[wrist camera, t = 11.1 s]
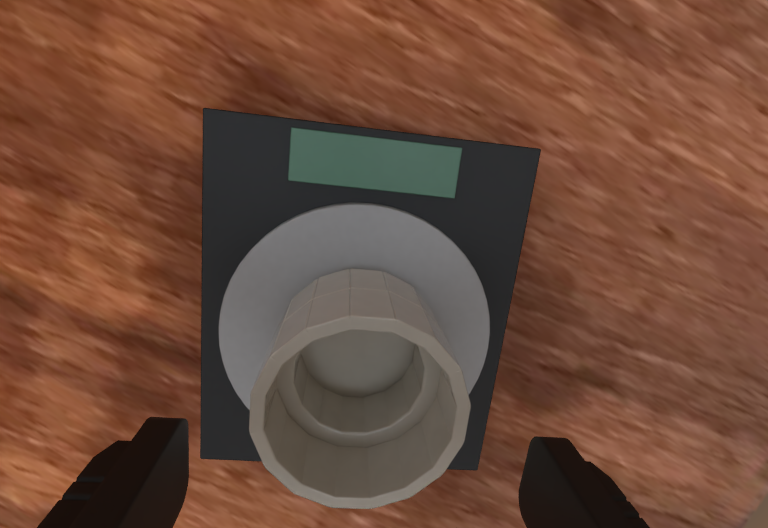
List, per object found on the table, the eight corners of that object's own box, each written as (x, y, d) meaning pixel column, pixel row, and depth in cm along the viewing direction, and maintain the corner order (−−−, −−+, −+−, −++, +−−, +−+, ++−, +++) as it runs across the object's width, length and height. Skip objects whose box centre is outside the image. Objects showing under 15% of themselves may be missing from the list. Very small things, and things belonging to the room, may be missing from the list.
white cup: (282, 257, 16) (253, 307, 11) (446, 272, 16) (486, 325, 11) (274, 404, 17) (245, 506, 12) (424, 413, 18) (451, 512, 13)
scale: (223, 113, 17) (196, 106, 14) (516, 148, 18) (549, 149, 15) (217, 422, 21) (195, 469, 18) (463, 435, 22) (481, 481, 19)
